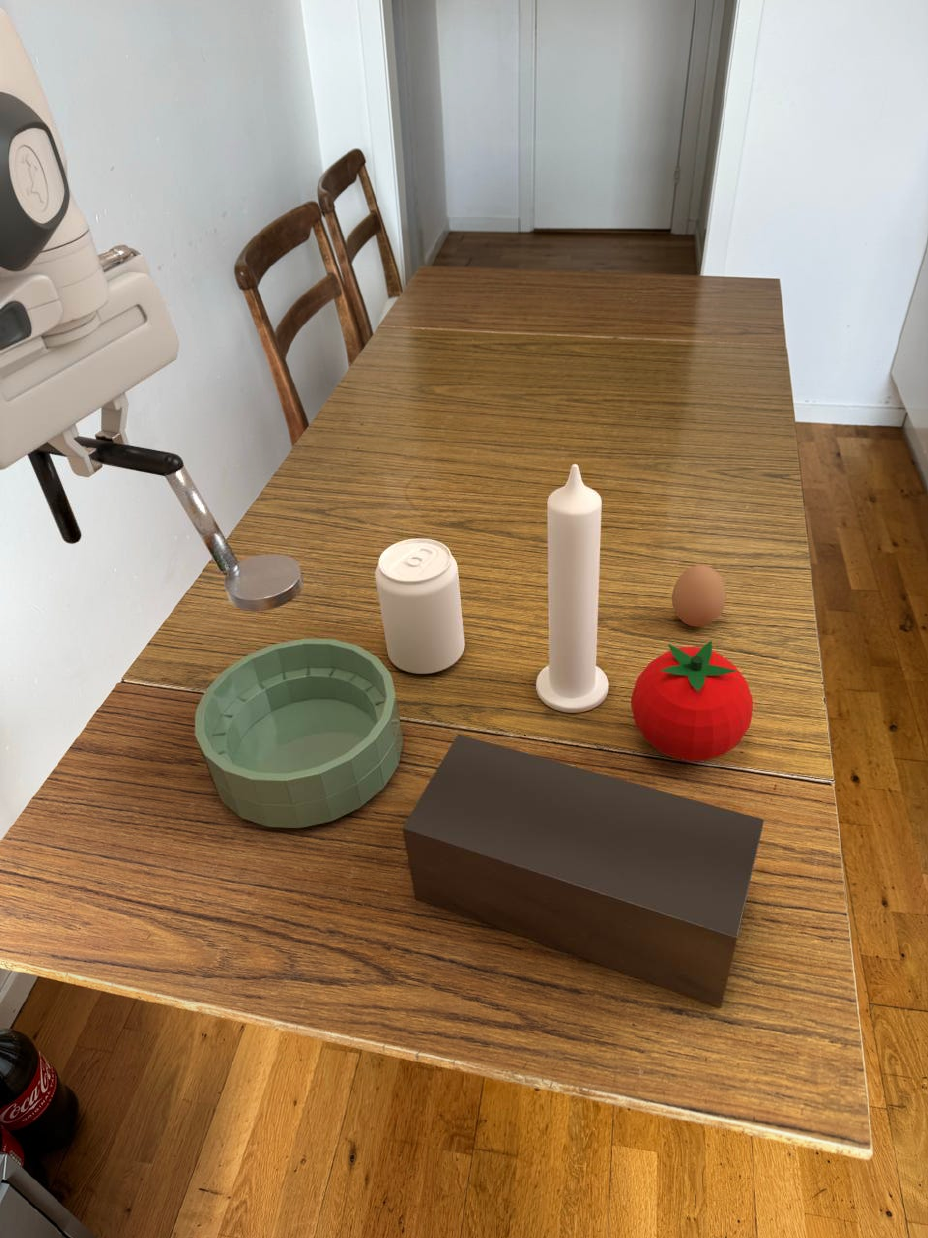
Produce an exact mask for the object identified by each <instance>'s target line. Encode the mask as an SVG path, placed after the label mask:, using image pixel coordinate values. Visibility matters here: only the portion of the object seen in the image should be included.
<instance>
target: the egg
mask: <svg viewBox="0 0 928 1238" xmlns="http://www.w3.org/2000/svg"><path fill="white" fill-rule="evenodd" d="M726 591H727V590H726V587H725V584H724V581H723V579H722V577H721V576H720V574H719V573H718V572H717V571H716V570H715V569H714V568H712V567H710V566H707V565H705V564H696V565H694V566H691V567H688V568H687V569H686V570H684V571H683V572H682V573H681V574H680V576H679V577H678V578H677V580H676V581H675V584H674V586H673V589H672V592H671V593H672V594H671V604H672V609H673V611H674V613H675V615H676V616H677V618H679V619H680V621H682V622H683V623H684V624H685V625H688V626H690V627H694V628H700V627H701V628H702V627H706V626H708V625H711V624H712V623H714V622H715V621H717V620H718V618H719V617H720V616H721V615H722V613H723V611H724V609H725V605H726V601H727V592H726Z"/></svg>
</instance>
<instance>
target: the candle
mask: <svg viewBox="0 0 928 1238" xmlns="http://www.w3.org/2000/svg"><path fill="white" fill-rule="evenodd" d="M579 468H580V467H579V465H578V464H576V463H574V464H572V465H571V467H570V472H569V475H568V478H567V481H566V483H565V485H564V486H562V487H559V488H556V489H555V490H553V491H552V492H551V493H550V494H549V496H548V498H547V505H546V506H547V507H546V508H547V509H546V510H547V588H548V589H547V591H548V592H547V595H548V596H547V597H548V599H547V602H548V603H547V604H548V605H547V606H548V612H547V613H548V665H546V666H545V667H543V668H542V669H541V670H540V672H539V673H538V675H537V676H536V681H535V689H536V692H537V696H538V697H539V699H540V701H541V702H542V703H543V704H545V705H546V706H548V707H549V708H551V709H553V710H555V711H559V712H562V713H570V714H576V713H584V712H588V711H590V710H593V709H595V708H597V707H599V706H600V705H601V704H602V703H603V702H604V701H605V699H606V698H607V696H608V693H609V685H610V684H609V679H608V676H607V675H606V673H605V672H604V671H603V670H602V669H601V668H600V667H599V666H597V652H598V651H597V649H598V647H597V646H598V620H599V593H600V589H599V588H600V566H601V564H600V563H601V537H602V535H601V533H602V506H603V501H602V496H601V495H600V494H599V493H598V492H597V491H596V490H595V489H592V488H591V487H588V486H587V485H585V484H584V482H583V480H582V476H581V472H580V469H579Z"/></svg>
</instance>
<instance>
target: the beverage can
mask: <svg viewBox="0 0 928 1238" xmlns="http://www.w3.org/2000/svg"><path fill="white" fill-rule="evenodd" d="M374 578H375V584H376V591H377V597H378V603H379V608H380V614H381V622H382V627H383V632H384V638H385V639H384V640H385V645H386V650H387V656H388V659H389V660H390V662H391V663H392V664H393V666H395V667H396V668H398V669H399V670H402V671H405V672H407V673H410V674H416V675H417V674H418V675H427V674H434V673H438V672H441V671H445V670H446V669H448V668H450V667H451V666H453V665H454V664H456V663H457V662H458V661H459V659H460V658H461V657H462V655H463V653H464V651H465V648H466V647H465V646H466V645H465V632H464V631H465V630H464V620H463V611H462V599H461V589H460V588H461V587H460V578H459V566H458V563H457V560H456V559H455V556H453V555H452V552H451V551H450V549H449V547H448V546H447V545H445V544H444V543H443V542H441V541H438V540H435V539H430V538H422V537H421V538H410V539H404V540H400V541H398V542H396V543H393V544H391V545H390V546H388V547H387V548H386V549H384V551H382V552H381V554H380V556H379V558H378V562H377V566H376V568H375V572H374Z"/></svg>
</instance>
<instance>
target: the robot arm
mask: <svg viewBox="0 0 928 1238" xmlns="http://www.w3.org/2000/svg"><path fill="white" fill-rule="evenodd" d="M48 101H49V100H48V99H47V96H46V94H45V92H44V89H43V86H42V84H41V82H40V79H39V77H38V75H37V72H36V69H35V67H34V65H33V63H32V60H31V58H30V56H29V53H28V52H27V49H26V47H25V45H24V43H23V41H22V39H21V36H20V35H19V33H18V31H17V29H16V27H15V25H14V23H13V21H12V19H11V18H10V16H9V15H8V13H7V12H6V10H5V9H3V8H2V7H0V471H2V470H6V469H7V468H9V467H11V466H12V465H13V464H15V463H17V462H18V461H19V460H21V459H23V458H24V457H26V456H28V454H29V453H31V452H32V451H34V450H35V449H37V448H39V447H40V446H42V445H43V444H45V443H46V442H48V443H49V444H51V445H52V446H53V447H55V448H56V449H57V450H59V451H60V452H61V453H63V454H64V455H66V456H67V457H66V459H67V461H68V464H69V466H70V468H71V471H72V472H73V474H74V475H76V476H78V477H83V478H90V477H91V476H92V475H94V474H96V473H97V472H98V471H100V470H101V469H102V468H103V465H104V464H102V462H101V461H100V460H99V454H98V451H97V449H96V448H91V447H90V448H86V447H85V446H81V445H80V444H79V443H78V442H76V441H75V440H74V438H76V437H78V436H80V433H79V432H80V431H79V430H78V427H77V424H78V423H79V422H81V421H82V420H84V419H86V418H87V417H89V416H90V415H92V414H94V413H95V412H97V411H98V410H99V409H101V410H100V411H101V413H100V414H101V415H100V416H101V418H100V429H101V430H100V431H98V432H97V433H96V434H94V439H98V440H104V441H109V442H114V443H120V444H125V445H130V443H129V439H128V436H127V433H126V426H127V420H128V412H129V401H128V397H127V395H126V393H127V392H128V391H130V390H131V389H132V388H134V387H136V386H137V385H139V384H140V383H142V382H143V381H145V380H146V379H148V378H150V377H152V375H154V374H156V373H157V372H159V371H161V370H163V369H164V368H165V367H167V366H169V365H171V364H172V363H173V362H175V361H176V360H177V358H178V354H179V346H180V341H179V339H178V334H177V332H176V331H177V330H176V328H175V326H174V324H173V323H174V322H173V320H172V317H171V315H170V312H169V310H168V308H167V305H166V303H165V301H164V298H163V296H162V293H161V291H160V289H159V287H158V285H157V284H156V282H155V281H154V280H153V278H152V275H151V271H150V268H149V264H148V261H147V259H146V257H145V256H144V255H143V254H142V253H141V252H139V251H138V250H137V249H135V248H132V247H129V246H128V245H127V244H119V245H116V246H113V247H112V248H110V249H109V250H108V251H106V252H104V253H99V254H98V251H97V247H96V244H95V241H94V238H93V234H92V232H91V228H90V225H89V222H88V220H87V217H86V216H85V215H84V213H83V211H82V209H81V208H80V206H79V205H78V203H77V202H76V199H75V196H74V195H73V193H72V189H71V186H70V182H69V176H68V160H67V154H66V151H65V147H64V144H63V141H62V138H61V135H60V132H59V129H58V126H57V124H56V121H55V118H54V114H53V112H52V109H51V107H50V104H49V102H48Z"/></svg>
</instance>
